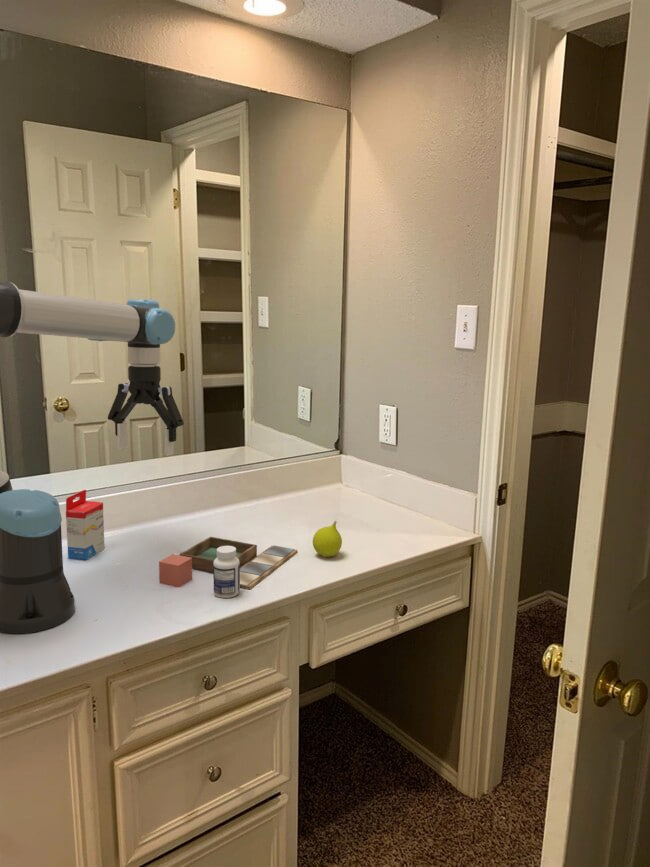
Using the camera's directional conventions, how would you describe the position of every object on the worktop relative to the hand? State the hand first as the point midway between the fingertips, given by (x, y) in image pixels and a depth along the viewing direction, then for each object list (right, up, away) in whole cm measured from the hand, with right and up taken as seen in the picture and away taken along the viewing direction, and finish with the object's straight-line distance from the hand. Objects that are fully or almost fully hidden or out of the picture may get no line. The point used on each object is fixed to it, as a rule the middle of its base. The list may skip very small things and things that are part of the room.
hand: (145, 452), depth 161 cm
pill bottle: (+23, -29, -24) cm, 44 cm away
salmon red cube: (+12, -28, -18) cm, 35 cm away
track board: (+29, -26, -10) cm, 41 cm away
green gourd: (+44, -25, -1) cm, 51 cm away
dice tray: (+19, -25, -7) cm, 33 cm away
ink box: (-13, -24, -4) cm, 28 cm away
